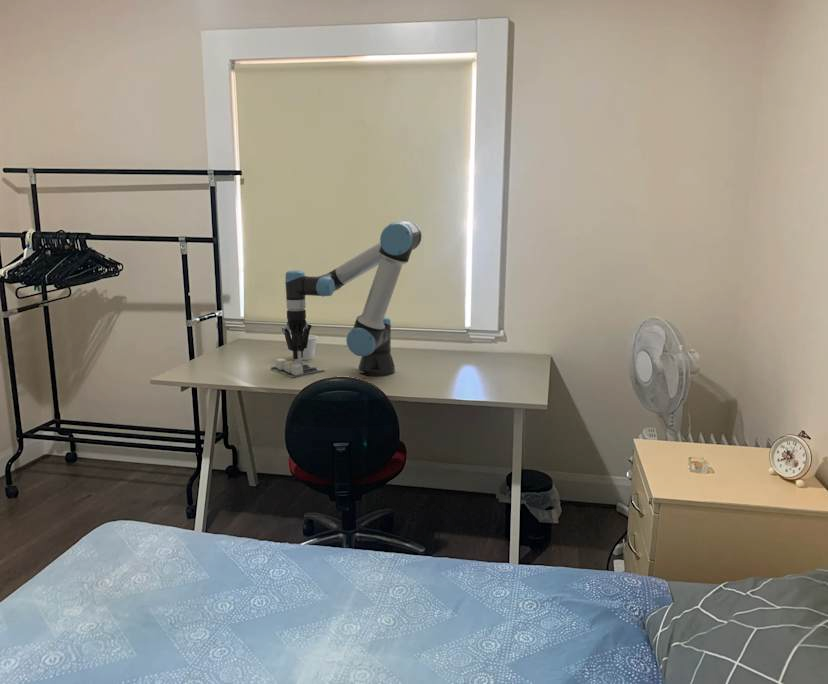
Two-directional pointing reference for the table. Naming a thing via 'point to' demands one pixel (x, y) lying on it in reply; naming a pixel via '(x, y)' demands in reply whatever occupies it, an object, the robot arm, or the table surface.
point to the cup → (310, 348)
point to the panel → (306, 371)
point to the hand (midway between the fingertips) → (298, 366)
